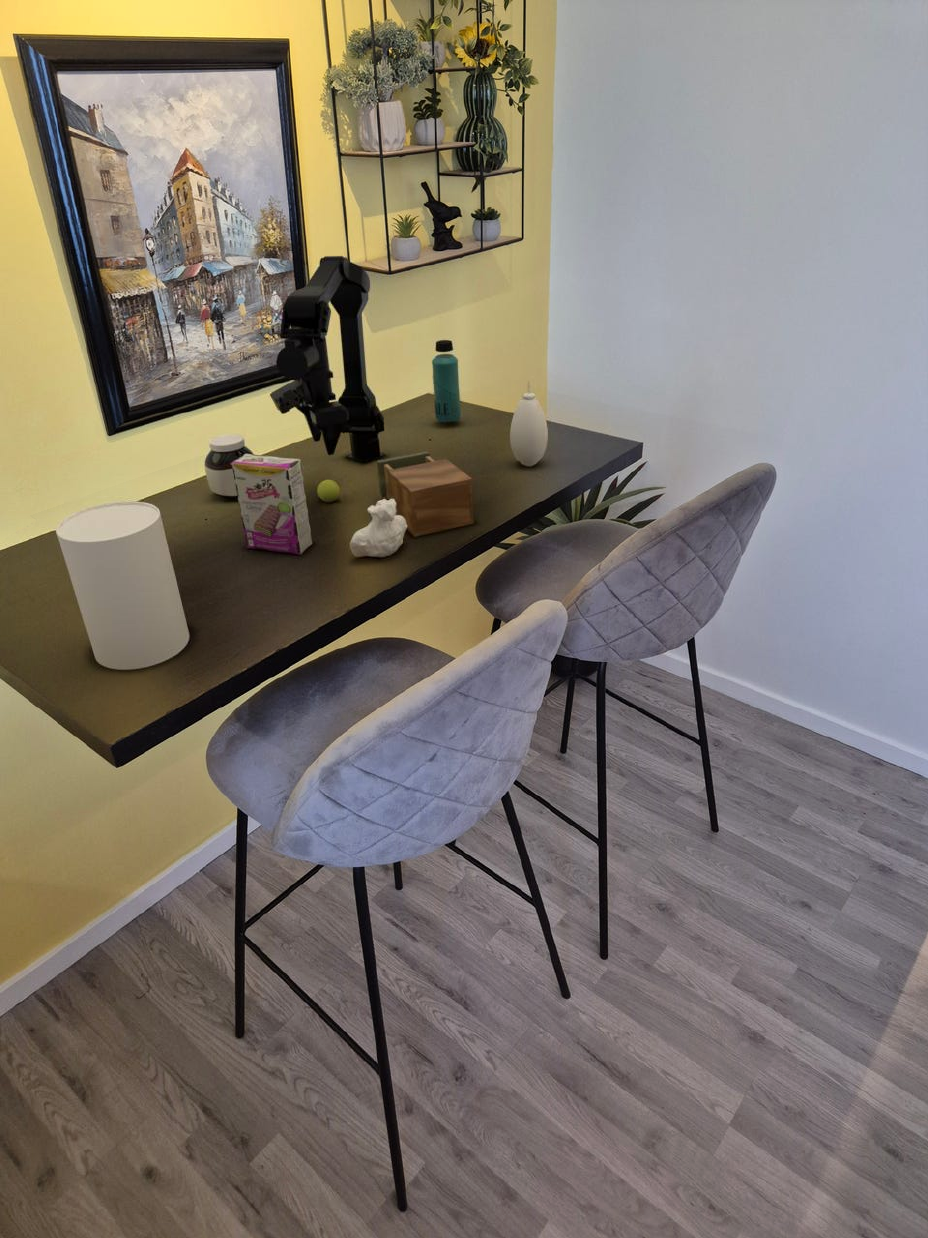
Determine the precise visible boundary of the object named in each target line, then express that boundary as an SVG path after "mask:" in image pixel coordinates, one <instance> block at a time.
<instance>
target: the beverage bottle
mask: <svg viewBox="0 0 928 1238" xmlns="http://www.w3.org/2000/svg"><path fill="white" fill-rule="evenodd" d="M452 351H454V346H453V341H452V340H449V339H441V340H437V341H436V342H435V352H437V353H440V354H437V355H435V356H434V358H433V359H432V360H431V364H432V384H433V398H434V399H433V400H434V404H433V407H434V416H435V419H436V421H438V422H443V423H451V422H456V421H459V420H460V419H461V417H462V410H461V408H462V407H461V405H462V404H461V394H460V391H461V390H460V378H459V376H460V375H459V359H458V358H457V357H456V356H455V355H454V354H452V353H449V352H452Z"/></svg>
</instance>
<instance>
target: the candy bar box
mask: <svg viewBox="0 0 928 1238" xmlns="http://www.w3.org/2000/svg"><path fill="white" fill-rule="evenodd" d="M231 464H232V469H233V474H234V480H235V485H236V491H237V496H238V500H237V501H238V506H239V511H240V517H241V521H242V528H243V532H244V539H245V543H246V548H248V549H253V550H254V549H255V550H261V551H269V552H278V553H285V554H291V555H302V554H304V553H305V552H306V551H307V549H309V548H310V547H311V546H312V545H313V536H312V530H311V524H310V516H309V510H308V503H307V496H306V489H305V482H304V481H305V480H304V475H303V467H302V460H301V459H300V458H293V457H292V458H291V457H281V456H273V455H272V456H271V455H261V454H260V455H259V454H254V455H252V454H244V455H243V456H241V457H240V458H238V459H237V460H235V461H233V462H232V463H231Z"/></svg>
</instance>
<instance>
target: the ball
mask: <svg viewBox="0 0 928 1238" xmlns="http://www.w3.org/2000/svg"><path fill="white" fill-rule="evenodd" d="M340 490H341V489H340V486H339V484H338V483H337V482H336V481H334V480H333V479H324V480H322V481H321V482H320V483H319V484H318V486H317V490H316V491H317V496H318V497H319V498H320V500H322V501H323V502H325V503H331V502H334V501H336V500H337V499H338V498H339V496H340V493H341V491H340Z"/></svg>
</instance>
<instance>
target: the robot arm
mask: <svg viewBox="0 0 928 1238" xmlns="http://www.w3.org/2000/svg"><path fill="white" fill-rule="evenodd" d="M370 290H371V279H370V276H369V274H368V272H367V271H366V270H365V268H364V267H363V266H360V265H359V264H356V263H354V262H351V261H350V260H349V259H348V257H347V256H344V255H325V256H323V257H321V258H320V259H319V266H318V267H317V268H316V270H315V271H314V272H313V274H312V276H311V278H310V279H309V281H308V282H307V284H306V285H305V286H304V287H302V288H300V289H295V290H294V291H292V292H291V293H290V294H288V296H286V299H285V301H284V302H283V306H282V313H281V323H280V332H279V333H280V334H279V337H280V338H279V339H282V340H283V339H285V340H284V341H283V342H284V343H283V344H284V348H282V349H281V350H280V351H279V352H278V354H277V356H276V360H275V362H276V367H277V370H278V371H279V373H280V374H281V375H282V377H284V378H285V379H287V380H291V381H290V382H288V383H286V384H284V385H283V386H282V385H281V387H278V388H277V389H275V390H273V391H271V393H270V394H269V397H270V398H271V401H272V402H273V404H274V405H275V407H276V410H277V411H279V413H281V414H282V415H284V414H287V413H289V412H290V411H291V410H292V409H294V408H295V409H296V410H297V411H299V412H300V413H302V414H303V416H304V419H305V421H306V424H307V426H308V430H309V431H310V434H311V437H312V439H313V441H314V442H315V443H316V442H321V438H322V440H323V443H324V447H325V450H326V453H327V455H328V456H333V455H334V454H335V451H336V448H337V446H338V442H339V440H340V437H341V434H348V436H349V443H350V452H351V453H348V454H346V455H345V458H346V459H349V460H352V461H355V462H358V463H361V464H366V463H370V462H372V461H375V460H378V459H381V458H384V457H386V453H385V452H381V447H380V445H381V444H380V438H379V434H380V433H383V432H385V418H384V415H383V414H382V411H381V410H380V408H379V407H378V405H377V398H376V396H375V394H374V392H373V391H372V390H371V388H370V387H369V385H368V380H367V378H368V377H367V366H366V351H365V338H364V327H363V312H364V310H365V309H366V306H367V304H368V301H369V293H370ZM330 305H331V306H332V307H333V309H334V310H335V312H336V313H337V315H338V317H339V330H340V340H341V341H340V343H341V352H342V354H341V355H342V364H343V376H344V377H343V378H344V389H343V391H342V393H341V395H340V396H339V398H338V400H337V397H336V393H335V392H333V389H332V388H333V387H332V379H334V372H333V371H332V370H331V369H330V362H329V354H328V345H327V337H326V336H327V335H328V332H329V326H330V321H331V317H332V309H331V307H330Z"/></svg>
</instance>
